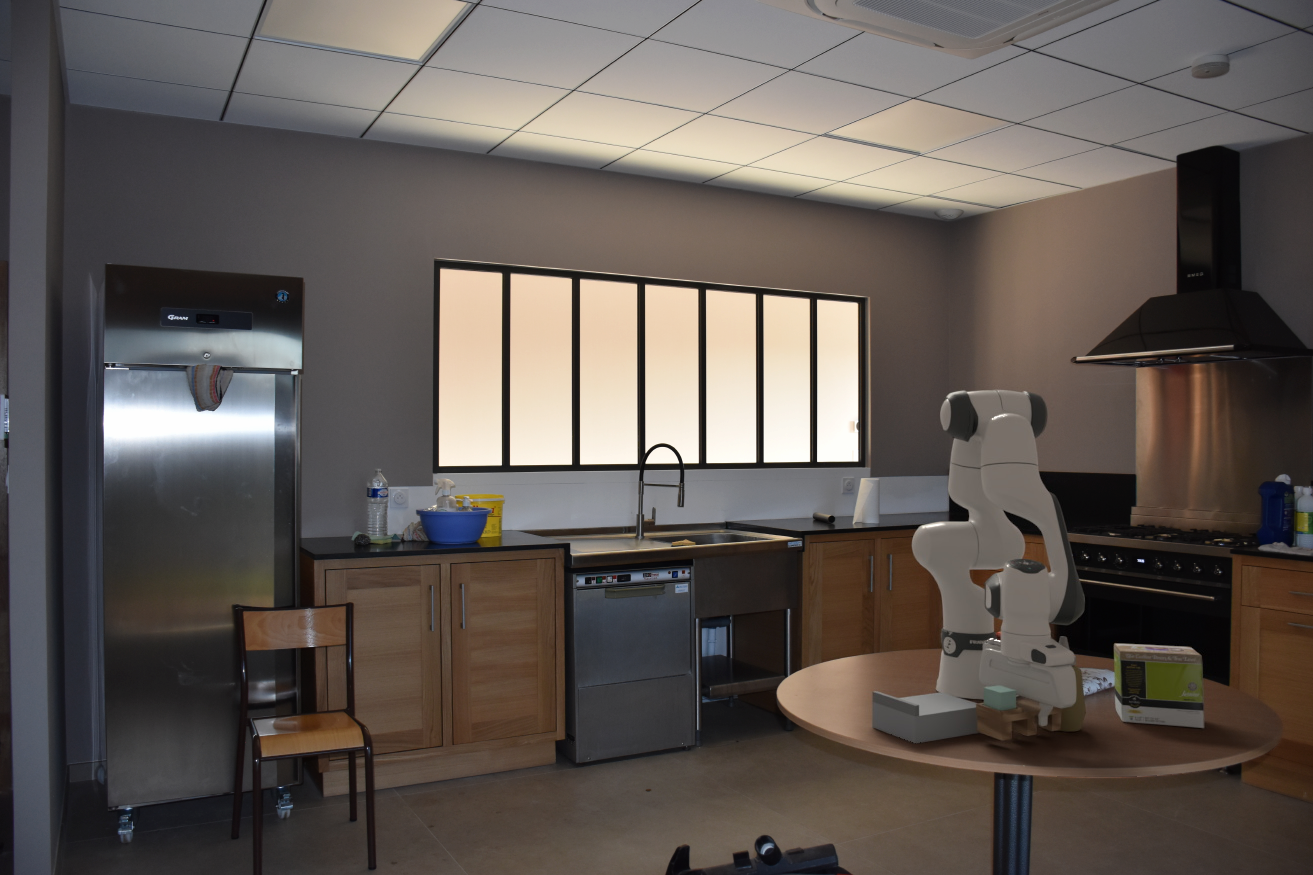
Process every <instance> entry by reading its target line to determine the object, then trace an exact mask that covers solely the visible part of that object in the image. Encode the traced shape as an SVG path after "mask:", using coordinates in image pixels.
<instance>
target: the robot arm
mask: <svg viewBox="0 0 1313 875" xmlns="http://www.w3.org/2000/svg"><path fill="white" fill-rule="evenodd" d="M1047 406H1048V405H1047V403H1046V402H1045V400H1044V399H1043V397H1042V396H1041V395H1040V394H1038V393H1034V392H1030V391H1025V390H1024V391H1021V392H1020V391H1014V390H1006V389H992V390H991V389H989V390H986V389H985V390H971V391H966V390H958V391H953V392H950V393H948V394H947V395H946V397H945V398H944V399H943V402H942V403H941V408H940V413H939V414H940V415H939V416H940V417H939V418H940V419H939V420H940V423H941V428H942V430H943V432H944V433H945V434H946V435H947V436H948V437H950V438H953V442H952V446H951V447H952V448H951V454H950V462H949V472H948V473H949V474H948V486H947V491H948V494H949V497H950V498H951V500H952V501H953V502H954V503H955V504H957V505H958V506H959V507H962V508H964V509H966V510H968V515H969V517H968V521H936V522H930V523H927V524H922V525H920V526H918V528H917V529H916V530H915V532H914V534H913V537H912V541H911V549H912V553H913V557H914V558H915V560H916V561H917V562H918V563H919V564H920V566H922V567H923V568H924V569H926V570H927V571H928V572H929V573H930V575H931V576H932V577H933V578H934V581H935V582H936V584H937V585H938V589H939V591H940V595H941V602H942V618H943V620H942V628H941V629H940V630H941V633H940V643H941V644H940V645H941V646H942V650H941V654H940V663H939V673H938V678H937V679H936V686H935V690H936V691H937V693H940V692H941V693H945V694H948V695H951V696H955V697H958V698H961V699H971V700H972V699H973V700H984V688H985V687H991V686H998V685H1000V686H1004V687H1007V688H1010V689H1014V690H1016V698H1017V697H1023V698H1024V699H1025V698H1026V699H1027V700H1029V699H1032V700H1035V701H1038V702H1039V707H1040V708H1042V709H1041V711H1040V713H1039V715H1035V724H1037V725H1040V726H1046V725H1047V719H1048V715H1049V714H1050V712H1051V710H1052V709H1053V706H1054V707H1058V708H1067V707H1071V706H1073V705H1074V703H1075V702H1076V676H1075V672H1074V669H1073V668H1072V666H1071V665H1069V664H1071V663H1073V662H1074V656H1075V653H1074V652H1073V651H1072V650H1070V649H1069V650H1068V649H1067V648H1065V647H1064V646H1062V645H1060V644H1059V641H1058V642H1057V640H1055V639H1054V638H1052V636H1051V634H1052V633H1051V632H1052V631H1051V627H1050V624H1051V625H1052V624H1054V625H1062V626H1069V625H1071V624H1073V623H1074V622H1076V621H1077V620H1078V618H1080V617H1081V616H1082V615H1083V613H1084V612H1085V606H1086V605H1085V604H1086V600H1085V594H1084V591H1083V590H1084V589H1083V587H1082V584H1081V580H1080V577H1079V575H1078V572H1077V568H1076V564H1075V560H1074V556H1073V552H1072V548H1071V547H1072V546H1071V542H1070V538H1069V535H1068V531H1067V525H1066V522H1065V518H1064V514H1063V511H1062V507H1061V504H1060V502H1059V500H1058V497H1057V496H1056V495H1055V494H1054V493H1052V492H1050V491H1048V489H1047V488H1046V485H1045V484H1044V483H1043V481H1042V479H1041V476H1040V470H1039V458H1038V457H1039V456H1038V449H1037V448H1038V447H1037V443H1036V439H1037V438H1038V437H1040V436H1041V435H1042V434H1043V433H1044V431H1045V430H1046V428H1047V422H1048V407H1047ZM1004 511H1005V512H1007V513H1010V514H1011V515H1012V514H1013V515H1015V516H1018V517H1020V518H1022V519H1025V520H1027V521H1029V522H1031V523H1033V524H1034V525H1035V527H1036V526H1037V528H1038V529H1039V531H1041V534H1042V538H1043V540H1044V546H1045V550H1046V554H1047V558H1048V564H1049V567H1050V572H1049V570H1048V568H1047V566H1046V565H1045V564H1044V563H1043V562H1040V561H1037V560H1032V559H1028V558H1023V557H1024V554H1025V552H1026V551H1025V550H1026V542H1025V538H1024V535H1023V534H1022V531H1020V529H1019V528H1018V526H1016V525H1015V524H1013V522H1012V521H1010V520H1009V518H1008V517H1007V515H1006V513H1005V512H1004ZM1000 569H1003V571H1000V572H995V573H993V574H992V575H991V576H990V577H988V579H986V581H985V582H984V588H983V587H981V586H980V585H977V584H975V583H974V582H973V581H972V578H971V574H970V573H971V572H970V570H971V571H972V570H1000ZM994 618H995V619H998V620H1001V621H1002V623H1001V626H1000V631H998V632H996V631H995V626H994V625H995V619H994Z"/></svg>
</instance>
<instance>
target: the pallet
mask: <svg viewBox="0 0 1313 875" xmlns="http://www.w3.org/2000/svg"><path fill="white" fill-rule="evenodd" d="M1041 709H1042V708H1040V707H1039V702H1038V701H1035V700H1032V699H1025V700H1018V701H1017V700H1016V709H1010V710H1004V711H999V710H996V709H993V708H990V707H987V706H984V702H979V703H978V704H976V715H977V732H980V733H979V734H983V735H986V736H988V737H991V738H994V739H997V740H1000V741H1007V740H1012V735H1013V734H1012V732H1015V733H1018V734H1021V735H1024V736H1027V737H1028V736H1034V735H1037V734H1038V729H1037V728H1041V729H1045V730H1047V731H1050V732H1054V731H1059V730H1061V713H1062V708H1058V707H1054V706H1053V709H1052V710H1051V712H1050V714H1049V715H1048V719H1047V725H1046V726H1040V725H1037V724H1035V715H1039V713H1040V711H1041Z"/></svg>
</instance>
